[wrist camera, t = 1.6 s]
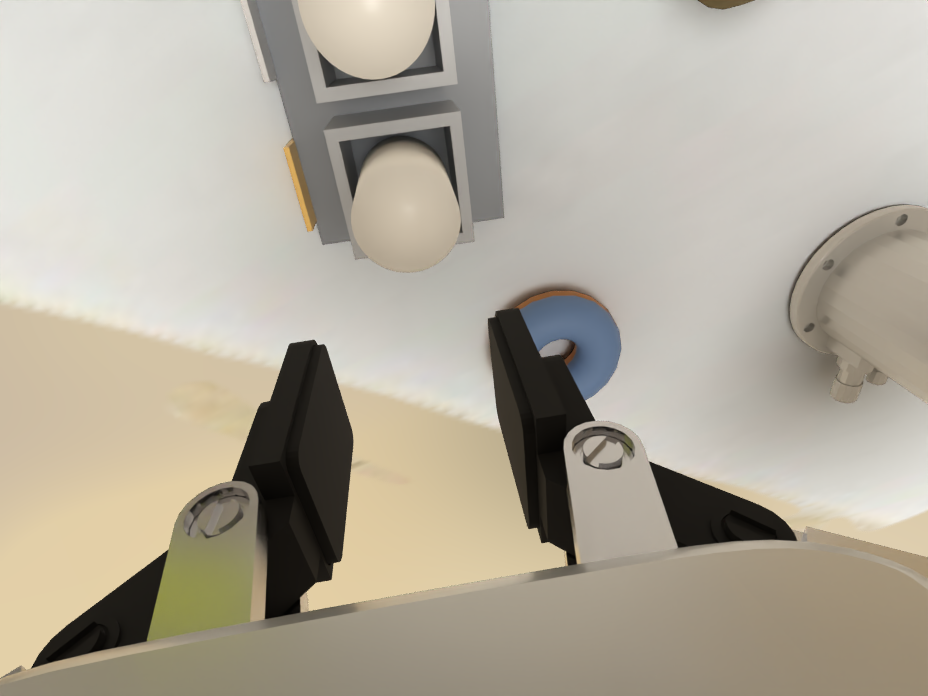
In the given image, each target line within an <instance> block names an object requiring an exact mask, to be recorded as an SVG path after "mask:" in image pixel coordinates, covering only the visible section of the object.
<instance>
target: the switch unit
mask: <svg viewBox="0 0 928 696" xmlns="http://www.w3.org/2000/svg"><path fill="white" fill-rule="evenodd" d="M240 1H241V5H242V8H243V12H244V15H245V18H246V22H247V25H248V29H249V32H250V36H251V39H252V42H253V46H254V49H255V53H256V56H257V60H258V63H259V66H260V70H261V73H262V77H263V80H264V83H266V82H271V81H274V80H277V83H278V87H279V90H280V94H281V97H282V101H283V105H284V108H285V112H286V115H287V119H288V123H289V126H290V130H291V133H292V137H293V139H291V140H290V141H289V142H288V143H287V145H286V146H285V147H284V148H283V149H284V152H285V156H286V159H287V162H288V166H289V169H290V173H291V176H292V179H293V183H294V186H295V190H296V193H297V197H298V200H299V203H300V207H301V210H302V214H303V217H304V221H305V224H306V227H307V231H313V229H314V226H315V224H316V223H317V226H318V230H319V234H320V237H321V241H322V244H323V245H325V244H332V243H338V242H345V241H351V244H352V248H353V252H354V256H355V260H356V259H362V258H369V257H368V256H367V255H365V253H364V252H363V251H362V250H361V248H360V247H359V245H358V243H357V241H356V239H355V237H354V234H353V231H352V226H351V209H352V205H353V201H354V197H355V193H356V188H357V184H358V180H359V176H360V172H361V168H362V164H363V162H364V159H365V158H366V156H367V154H368V153H369V152H370V150H371V149H372V148H373V147H374V146H375V145H377V144H378V143H379V142H381V141H383V140H385V139H388V138H390V137H395V136H409V137H414V138H417V139H419V140H421V141H423V142H425V143H427V144H428V145H429V146H431V147H432V148H433V149H434V150H435V151H436V153H437V154H438V155H439V157H440V158H441V160H442V162H443V164H444V167H445V169H446V172H447V175H448V178H449V180H450V183H451V186H452V188H453V191H454V194H455V196H456V199H457V202H458V205H459V209H460V215H461V224H460V231H459V235H458V238H457V241H456V243H455V244H461V243H468V242H474V232H473V223H472V222H479V221H485V220H492V219H499V218H504V209H503V195H502V181H501V166H500V152H499V138H498V124H497V110H496V96H495V82H494V68H493V54H492V39H491V25H490V11H489V0H435V16H434V22H433V27H432V31H431V34H430V37H429V39H428V42H427V44H426V46H425V48H424V50H423V51H422V53H421V54H420V55H419V57H418V58H417V59H416V60H415V61H414V62H413V63H412V64H411V65H410V66H409V67H408V68H406V69H405V70H404V71H402V72H400V73H398V74H397V75H394V76H391V77H388V78H384V79H374V80H371V79H362V78H358V77H355V76H352V75H349V74H347V73H345V72H343V71H341V70H339V69H338V68H337V67H335V66H334V65H332V64H331V63H330V62H329V61H328V60H327V59H326V58H324V56H323V55H322V54H321V53H320V52H319V51H318V49H317V48H316V47H315V45H314V44H313V42H312V41H311V39H310V37H309V35H308V33H307V31H306V29H305V27H304V24H303V22H302V18H301V15H300V11H299V6H298V0H240Z"/></svg>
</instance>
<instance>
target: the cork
mask: <svg viewBox="0 0 928 696" xmlns="http://www.w3.org/2000/svg"><path fill="white" fill-rule="evenodd" d="M698 1H700V2H701V3H703V4H704V5H706V6H707V7H711V8H717V9H727V8H731V7H735V6H739V5H742V4H745V3H748V2H751V1H754V0H698Z"/></svg>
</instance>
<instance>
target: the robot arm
mask: <svg viewBox="0 0 928 696" xmlns="http://www.w3.org/2000/svg"><path fill="white" fill-rule="evenodd" d="M790 320H791V323H792V326H793V330H794V331H795V333H796V334H797V335H798V337H799V338H800V339H801V340H802V341H804V342H805V343H806V344H807V345H809V346H810V347H812V348H813V349H815V350H817V351H819V352H823V353H826V354H833V355H838V358H837V361H836V362H837V365H838V366H839V368H840V370H839V373H838V374H837V375H836V377H835V379H834V382H833V385H832V388H831V390H830V395H831V397H832V398H834V399H835V400H837V401H840V402H844V403H853V402H855V401H856V400H857V398H858V395H859V393H860V390H861V388H862V385H863V378H864V376H865V374H867V376H866V380H867V381H868V382H870V383H872V384H876V385H883V384H885V383H886V381H887V378H888V377H889V378H891V379H892V380H894V381H895V382H897V383H898V384H899V385H901V386H902V387H904V388H905V389H907V390H908V391H909V392H911V393H912V394H914V395H915V396H917V397H918V398H919V399H921V400H922V401H924V402H925V403H927V404H928V209H927V208H924V207H921V206H914V205H899V206H891V207H887V208H884V209H880V210H877V211H874V212H872V213H870V214H867V215H865V216H863V217H861V218H859V219H857V220H855V221H854V222H852V223H851V224H849V225H847V226H846V227H844V228H843V229H841V230H840V231H839V232H838V233H836V234H835V235H834V236H833V237H831V238H830V239H829V240H828V241H827V242H826V243H825V244H824V245H823V246H822V247H821V248H820V249H819V250H818V251H817V252H816V253H815V254H814V256H813V257H812V258H811V260H810V261H809V262H808V264H807V265H806V266H805V268H804V270H803V272H802V273H801V275H800V277H799V279H798V281H797V283H796V286H795V288H794V291H793V294H792V298H791V304H790ZM488 329H489V339H490V349H491V359H492V369H493V379H494V389H495V398H496V408H497V414H498V419H499V423H500V426H501V430H502V434H503V438H504V441H505V445H506V449H507V452H508V456H509V460H510V464H511V467H512V471H513V475H514V478H515V482H516V486H517V489H518V493H519V497H520V501H521V504H522V508H523V512H524V516H525V519H526V523H527V526H528V529H532V528H537V529H538V532H539V536H540V539H541V543H545V542H550V543H552V544H554V545H555V546H557V547H559V548H561V549H563V550H564V556H565V565H566V566H564V567H559V568H553V569H547V570H542V571H536V572H529V573H524V574H518V575H512V576H506V577H500V578H494V579H489V580H483V581H477V582H471V583H466V584H460V585H454V586H449V587H443V588H437V589H432V590H426V591H420V592H414V593H409V594H403V595H398V596H392V597H386V598H381V599H375V600H370V601H364V602H358V603H352V604H347V605H341V606H336V607H330V608H324V609H319V610H313V611H308V598H307V593H306V592H307V591H308V589H310V588H311V587H312V586H313V585H314V584H315V583H317V582H322V581H328V580H331V579H332V571H333V563H336V562H340V561H341V558H342V551H343V542H344V532H345V521H346V512H347V502H348V492H349V482H350V472H351V462H352V452H353V433H352V429H351V425H350V422H349V419H348V416H347V412H346V409H345V406H344V403H343V400H342V396H341V393H340V390H339V387H338V383H337V380H336V377H335V374H334V371H333V367H332V364H331V361H330V358H329V355H328V351H327V349H326V346H325V345H324V344H323V345H317V343H316V341H315V340H309V341H303V342H297V343H291V344H289V346H288V349H287V352H286V355H285V358H284V361H283V364H282V367H281V370H280V373H279V376H278V379H277V382H276V385H275V388H274V391H273V394H272V397H271V400H270V401H268V402H263V403H261V404H260V406H259V408H258V410H257V413H256V416H255V418H254V421H253V424H252V427H251V429H250V432H249V435H248V438H247V441H246V443H245V446H244V449H243V452H242V454H241V457H240V460H239V463H238V465H237V468H236V471H235V474H234V476H233V479H232V481H231V482H225V483H220V484H218V485H215V486H213V487H210V488H208V489H206V490H205V491H203V492H201V493H200V494H198V495H197V496H196V497H195V498H193V499H192V500H191V501H190V502H189V503H187V505H186V506H185V507H184V508H183V510H182V511H181V512H180V513H179V516H178V518H177V520H176V522H175V525H174V529H173V533H172V538H171V542H170V546H169V550H167V551H166V552H165V553H163V554H162V555H161V556H159V557H158V558H157V559H155V560H154V561H153V562H151V563H150V564H149V565H147V566H146V567H145V568H143V569H142V570H141V571H139V572H138V573H137V574H135V575H134V576H133V577H131V578H130V579H129V580H127V581H126V582H125V583H123V584H122V585H120V586H119V587H118V588H116V589H115V590H114V591H112V592H111V593H110V594H108V595H107V596H106V597H104V598H103V599H102V600H100V601H99V602H98V603H96V604H95V605H94V606H92V607H91V608H90V609H88V610H87V611H86V612H85V613H83V614H82V615H81V616H79V617H78V618H77V619H75V620H74V621H72V622H71V623H70V624H68V625H67V626H66V627H65V628H64V629H63V630H61V631H60V632H59V633H58V634H57V635H56V636H54V637H53V638H52V639H51V640H50V642H49V643H48V644H47V645H46V646H45V647H44V649H43V650H42V651H41V652H40V654H39V655H38V657H37V659H36V661H35V662H34V664H33V666H32V668H31V669H28V670H26V669H25V668H24V667H22V666H20V667H18V668H16V669H15V670H13V671H11V672H10V673H8V674H6V675H5V676H3V677H1V678H0V696H928V557H924V556H919V555H916V554H912V553H908V552H904V551H901V550H897V549H892V548H889V547H885V546H881V545H877V544H873V543H869V542H865V541H861V540H857V539H853V538H850V537H845V536H842V535H838V534H834V533H830V532H826V531H822V530H818V529H814V528H810V527H806V528H805V531H804V533H803V532H799V531H795V530H792V529H791V528H790V527H789V526H788V524H787V523H786V522H785V521H784V520H783V519H781V518H780V517H779V516H777V515H776V514H775V513H774V512H772V511H770V510H768V509H766V508H764V507H762V506H760V505H758V504H756V503H753V502H751V501H748V500H745V499H743V498H740V497H738V496H735V495H733V494H730V493H728V492H725V491H723V490H720V489H718V488H715V487H713V486H710V485H707V484H705V483H702V482H700V481H697V480H695V479H692V478H690V477H687V476H685V475H682V474H680V473H677V472H675V471H672V470H670V469H667V468H665V467H662V466H659V465H657V464H654V463H652V462H649V461H648V458H647V455H646V452H645V449H644V446H643V444H642V442H641V440H640V439H639V437H638V436H637V435H636V434H635V433H634V432H632V431H631V430H630V429H628V428H626V427H624V426H622V425H620V424H616V423H613V422H609V421H595V419H594V417H593V415H592V413H591V411H590V410H589V408H588V406H587V404H586V402H585V400H584V398H583V396H582V394H581V392H580V390H579V388H578V386H577V384H576V382H575V380H574V379H573V377H572V375H571V373H570V371H569V369H568V367H567V365H566V363H565V361H564V359H563V358H562V356H561V355H555V356H548V357H542V358H541V356H540V354H539V352H538V350H537V347H536V345H535V343H534V341H533V338H532V336H531V334H530V332H529V330H528V327H527V325H526V323H525V321H524V318H523V316H522V314H521V312H520V310H519V308H514V309H507V310H501V311H496V313H495V318H488Z"/></svg>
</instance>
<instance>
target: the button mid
mask: <svg viewBox="0 0 928 696" xmlns="http://www.w3.org/2000/svg"><path fill="white" fill-rule="evenodd" d="M298 6H299V11H300V15H301V18H302V22H303V24H304V27H305V29H306V31H307V33H308V35H309V37H310V39H311V41H312V42H313V44H314V45H315V47H316V48H317V49H318V51H319V52H320V53H321V54H322V55H323V56H324V58H326V59H327V60H328V61H329V62H330V63H331V64H332V65H334V66H335V67H337V68H338V69H339V70H341V71H343V72H345V73H347V74H349V75H352V76H355V77H358V78H362V79H371V80H374V79H384V78H388V77H391V76H394V75H397V74H398V73H400V72H402V71H404V70H405V69H406V68H408V67H409V66H410V65H411V64H412V63H413V62H414V61H415V60H416V59H417V58H418V57H419V55H420V54H421V53H422V51H423V50H424V48H425V46H426V44H427V42H428V39H429V37H430V34H431V31H432V27H433V22H434V16H435V0H298Z"/></svg>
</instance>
